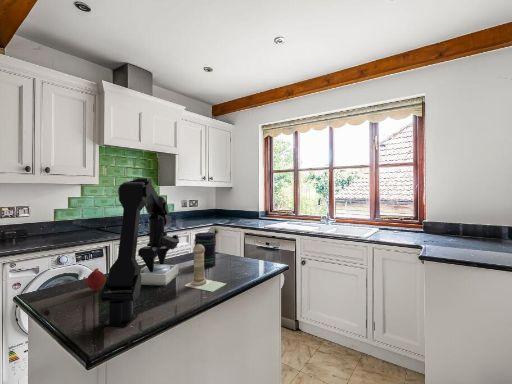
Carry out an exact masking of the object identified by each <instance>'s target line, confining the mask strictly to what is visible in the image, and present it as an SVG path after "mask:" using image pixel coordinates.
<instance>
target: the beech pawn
mask: <svg viewBox="0 0 512 384" xmlns="http://www.w3.org/2000/svg"><path fill="white" fill-rule="evenodd" d="M192 252H193V278H192V279H191V282H192V285H194V286H201V285H204V284H206V280H207V278H206V277H205V268H204V252H205V248H204V246H203V245H201V244H197V245H195V244H194V246H193V248H192Z"/></svg>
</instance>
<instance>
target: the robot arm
mask: <svg viewBox="0 0 512 384" xmlns="http://www.w3.org/2000/svg"><path fill="white" fill-rule="evenodd" d="M117 189H118V190H117V193H118V201H119V203H120V205H121V207H122V210H123V212H122V219H121V226H120V234H119V235H120V236H119V244H118V250H117V251H118V252H117V259H116V260H115V261H114V262H113V264H112V265H111V266H110V268H109V271H108V275H107V277H106V278H105V279H106V280H105V283H104V285H103V288H102V290H101V294H100V300H101V301H100V302H101V303H105V302H108V319H107V320H106V321H105V322H104V323H103V326H106V327H107V326H108V327H127V326H129V324H131V323H132V322H133V321H134V320H136V318H137V317H139V314H138V313H134V302H135V301H136V300H137V299H138V297H139V296H140V295H141V294H140V293H141V286H142V285H141V274H140V271H141V269H142V267H141V264H139V263H138V261H137V259H136V256H138V257H140V258H141V259H142V260H143V262H144V263H145V265H146V266H147V267H148V269H149V271H150V272H153V269H154V264H155V260H156V259H157V258H158V259H157V260H158V262H159V264H161V265H165V260H166V257H167V254H168V252H169V251H170V250H175V249H177V248H178V244H179V243H180V239H179V235H177V234H174V235H171V236H169V235H168V232H167V231H165V227H166V226H168V225H169V224H170V221H171V219H170V218H171V217H170V216H169V215H170V211H169V205H168V201H167V200H166V199H165V198H164V197H163V196H160V195H159V194H158V192H157V191H156V189H155V188H154V185H153V182H152V179H151V178H148V177H137V178H134V179H133V180H129V181H123V182H122V183H121V184H120V185H119V186H118V188H117ZM144 207H145V210H146V213H147V214H148V215H149V217H148V224H149V225H148V227H149V228H148V231H149V232H147V233H146V236H147V237H148V239H149V240H148V241H149V242H148V243H146V245H147V246H143V247H141V248H139V249H138V250H137V247H138V237H139V229H140V219H141V218H140V217H141V211H143V209H144Z"/></svg>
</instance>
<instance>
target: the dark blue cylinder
mask: <svg viewBox="0 0 512 384" xmlns="http://www.w3.org/2000/svg"><path fill="white" fill-rule="evenodd" d="M216 241H217V240H216V233H214V232H198V233H197V232H196V233H195V234H194V246H195V245H197V244H201V245H203V246H204V248H205V252H204V269H212V268H214V267H215V266H216V265H217V264H216V260H217V255H216V245H217V244H216Z"/></svg>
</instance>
